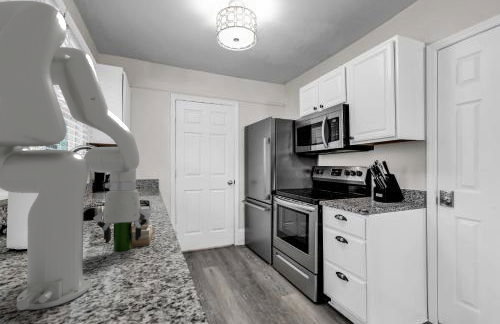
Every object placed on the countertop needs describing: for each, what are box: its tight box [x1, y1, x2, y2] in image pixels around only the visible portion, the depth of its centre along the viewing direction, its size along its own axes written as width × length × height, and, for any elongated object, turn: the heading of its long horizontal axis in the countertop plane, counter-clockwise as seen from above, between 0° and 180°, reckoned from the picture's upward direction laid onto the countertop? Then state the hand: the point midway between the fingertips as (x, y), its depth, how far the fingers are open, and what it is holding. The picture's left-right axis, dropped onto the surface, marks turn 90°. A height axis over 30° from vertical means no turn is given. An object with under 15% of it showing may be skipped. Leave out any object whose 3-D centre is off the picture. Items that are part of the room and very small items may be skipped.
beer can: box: [112, 222, 133, 255], centre depth 78 cm, size 5×5×12 cm
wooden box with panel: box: [132, 205, 156, 248], centre depth 91 cm, size 16×9×11 cm, turn 16°
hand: (123, 240), depth 78 cm, fingers open, 8 cm apart
